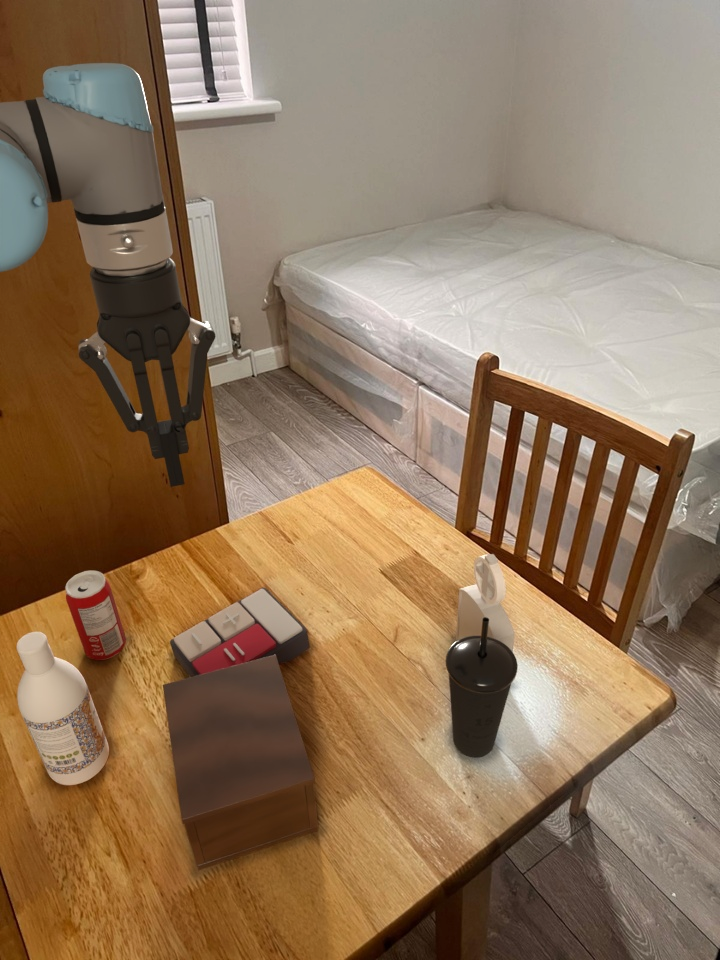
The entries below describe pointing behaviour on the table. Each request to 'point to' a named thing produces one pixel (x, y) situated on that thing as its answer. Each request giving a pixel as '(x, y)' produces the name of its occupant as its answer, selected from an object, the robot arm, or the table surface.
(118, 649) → the soda can
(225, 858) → the chest
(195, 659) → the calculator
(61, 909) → the table surface
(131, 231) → the robot arm
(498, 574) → the gravestone
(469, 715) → the drinking cup
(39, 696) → the bath foam
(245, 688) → the chest lid
